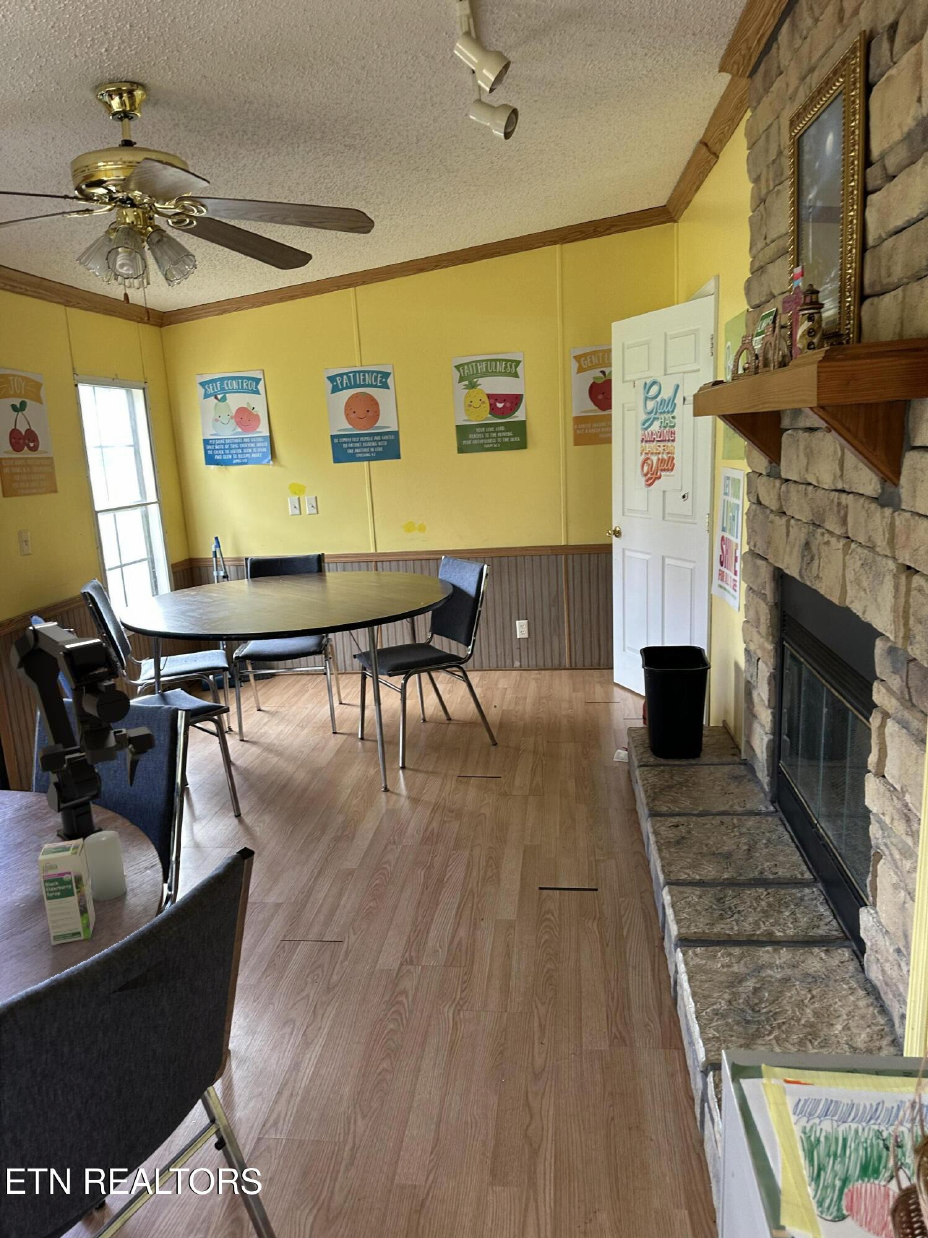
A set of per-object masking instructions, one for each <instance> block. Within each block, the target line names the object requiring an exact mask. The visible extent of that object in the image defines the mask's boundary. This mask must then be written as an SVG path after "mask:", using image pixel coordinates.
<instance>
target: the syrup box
mask: <svg viewBox="0 0 928 1238" xmlns="http://www.w3.org/2000/svg"><path fill="white" fill-rule="evenodd" d="M37 866H38V872H39V873H38V874H39V877H40V883H41V888H42V889H41V890H42V895H43V898H44V904H45V905H44V906H45V911H46V917H47V922H48V927H49V928H48V929H49V937H50V942H51V945H52V946H57V945H59V944H65V943H71V942H76V941H81V940H87V939H88V940H89V939H91V938H92V933H93V930H94V927H95V926H94V925H95V923H96V915H95V909H94V899H93V896H92V890H91V885H90V881H89V880H90V877H89V871H88V865H87V858H86V852H85V846H84V837H82V838H80V839H77V840H73V841H68V840H66V841H60V842H55V843H46V844H44V845H43V847H42V849H41V851H40V853H39V856H38V858H37Z"/></svg>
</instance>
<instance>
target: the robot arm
mask: <svg viewBox="0 0 928 1238" xmlns="http://www.w3.org/2000/svg"><path fill="white" fill-rule="evenodd" d="M9 658H10V663H11V666H12V668H13V669H14V670H16V673H17V676H18V678H19V680H21V681H22V682H23V683H24V684H25V685H26V686H28V687H29V688H31V690H32V692H33V696H34V699H35V701H36V704H37V709H38V711H39V715H40V718H41V721H42V725H43V728H44V730H45V734H46V739H47V741H48V744H49V745H46V746H42V747H40V748H39V750H37V755H38V756H37V757H38V762H39V763H38V764H39V765H40V770H41V772H43V773H47V772H50V773H49V779H50V784H49V787H48V790H47V793H46V795H45V796H46V797H45V798H46V801H47V805H48V808H50V809H51V810H52V811H54V812H55V813H56V814H60V821H61V826H62V828H59V829H57V830H56V834H57V835H59V836H60V837H62V838H64V839H65V840H66V841H73V840H78V839H81V838H85V837H89V836H90V835H92V834H95V833H98V832H101V831H103V826H101V825H100V824H98V823H96V822H95V818H94V810H93V805H92V802H93V801H97V800H101V799H102V783H103V782H102V775H100V773H99V771H98V770H97V769H96V768H95V765H98V764H100V763H103V762H108V761H109V762H112V761H115V760H116V759H118V756H119V754H118V752H121V751H124V750H126V769H127V771H126V772H127V773H126V774H127V780H128V781H127V782H128V786H129V788H132V787H133V786H134V780H135V777H136V772H137V769H138V768H137V767H138V765H139V762H140V760H141V758H142V757H143V756H144V755H147V754H148V753H149V750H152V749H154V748H156V742H155V736H154V734H153V732H152V731H151V730H150V728H148V727H147V726H140V727H136V728H135V727H134V728H131V729H130V728H129V729H126V728H124V727H123V728H119V729H114V728H113V725H112V724H115V723H118V722H120V721H122V720H123V719H125V717H126V716H127V715H128V714H129V712H130V709H131V699H130V698H129V695H127V694H126V692H125V691H123V690H121V689H120V688H117V685H116V682H115V681H112V680H115V679H119V678H120V675H119V672H118V670H119V666H118V664H117V662H116V660H115V659H114V657H113V654H112V652H111V651H110V650H109V648H108V646H107V645H106V643H103V641H102V640H101V639H99V638H95V637H77V636H75V635H74V634H72V633H70V632H69V631H67V630H65V629H63V628H62V627H60V626H59V624H58V622H57V621H56V622H53V621H47V622H43V623H37V624H32V625H30V626H28V627H26V631H25V633H24V634H22V636H20V637H19V638H18V639H16V640H15V641H14V642H13V644H12V647H11V650H10V653H9ZM60 673H62V675H63V677H64V678H65V680H66V682H67V684H68V685H69V688H70V694H71V695H70V696H71V701H72V702H71V703H72V707H73V715H74V721H75V722H74V723H75V727H76V734H77V739H78V740H77V739H76V735H75V731H74V730H73V727H72V726H73V725H72V723H71V720H70V717H69V713H68V711H67V707H66V705H65V700H64V698H63V695H62V691H61V688H60V684H59V676H60ZM77 741H78V743H77Z"/></svg>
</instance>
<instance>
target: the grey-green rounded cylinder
mask: <svg viewBox="0 0 928 1238" xmlns="http://www.w3.org/2000/svg"><path fill="white" fill-rule="evenodd" d="M83 843H84V849H85V856H86V862H87V868H88V874H89V880H90V884H91V885H90V887H91V894H92V899H93V900H95V901H99V902H100V901H101V902H105V901H111V900H115V899H117V898H118V897H120V896H122V895H124V894H125V893H126V891H127V888H128V887H127V882H126V875H125V874H124V871H125V868H124V860H123V856H122V855H123V854H122V850H121V849H122V848H121V840H120V834H119V832H117V831H115V830H104V831H103V830H101V831H98V832H95V833H93V834H90V835H88V836H86V838H85V839H83Z"/></svg>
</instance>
